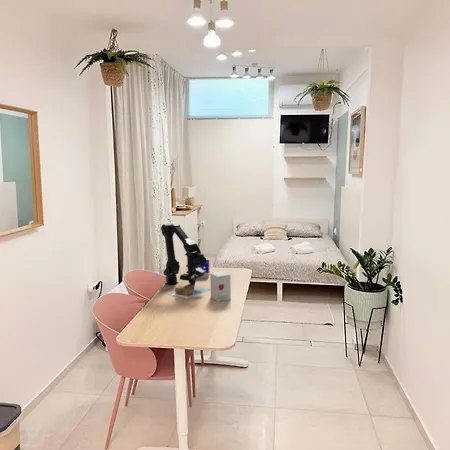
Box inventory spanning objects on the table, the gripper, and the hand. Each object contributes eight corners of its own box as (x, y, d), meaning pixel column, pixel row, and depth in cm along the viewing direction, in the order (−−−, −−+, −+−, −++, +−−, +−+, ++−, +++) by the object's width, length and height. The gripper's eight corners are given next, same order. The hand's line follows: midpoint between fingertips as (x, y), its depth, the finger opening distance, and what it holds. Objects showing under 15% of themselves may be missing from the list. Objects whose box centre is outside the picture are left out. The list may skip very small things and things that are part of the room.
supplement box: (217, 302, 246) (216, 276, 243) (210, 297, 253) (209, 273, 251) (231, 299, 250) (230, 274, 247) (224, 295, 258) (223, 270, 255)
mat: (165, 294, 261) (165, 294, 261) (187, 285, 279) (187, 285, 279) (189, 299, 251) (189, 299, 251) (211, 289, 270) (211, 289, 269)
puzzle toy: (208, 277, 297) (208, 263, 296) (194, 277, 297) (193, 263, 296) (209, 273, 307) (209, 259, 306) (195, 273, 307) (195, 260, 306)
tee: (175, 293, 261) (175, 287, 261) (185, 289, 270) (184, 283, 269) (188, 296, 256) (188, 289, 256) (198, 291, 265) (198, 285, 264)
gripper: (193, 268, 254) (194, 293, 256) (211, 261, 270) (212, 285, 272) (178, 266, 260) (179, 291, 262) (196, 259, 275) (197, 283, 278)
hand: (193, 287), depth 268 cm, fingers closed
